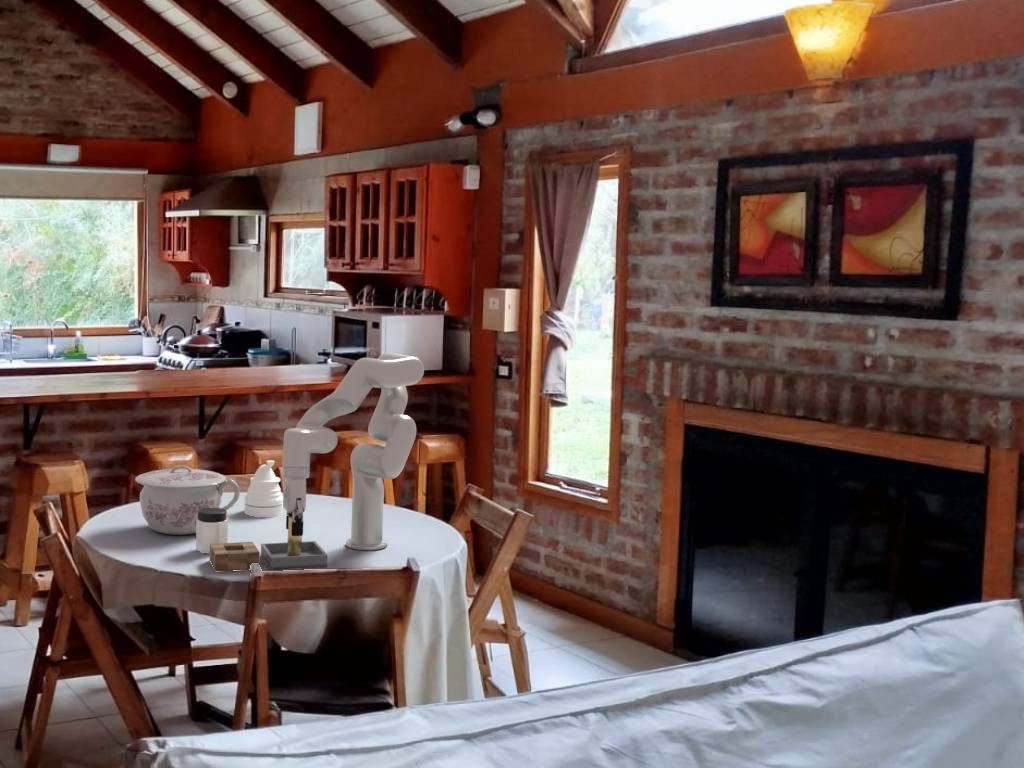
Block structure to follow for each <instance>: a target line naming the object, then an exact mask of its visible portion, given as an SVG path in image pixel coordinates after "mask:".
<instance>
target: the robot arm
mask: <svg viewBox="0 0 1024 768" xmlns="http://www.w3.org/2000/svg"><path fill="white" fill-rule="evenodd" d="M424 373H425V366H424V364H423V361H421V360H420V359H419V358H418V357H415V356H411V355H405V354H398V353H384V354H380V355H379V356H378V358H372V357H361V358H359V359H357V360H356V361H355V362H354V364H353V365H352V366H351V367H350V369H349V370H348V372H347V373H346V375H345V376H344V377H343V379H342V380H341V381H340V382H339V384H338V385H337V387H336V388H335V390H334V391H333V392H332V393H330V395H327V396H326V397H324V398H322V399H321V400H320V401H318V402H317V403H314V404H313V405H312V406H311V407H309V409H308V410H306V412H305V413H304V414H303V416H302V417H301V418H300V420H299V421H298V423H296V426H295V428H294V427H292V428H291V427H290V428H287V429H286V430H285V431H284V433H283V455H282V477H283V478H284V480H283V482H284V483H283V493H282V494H283V495H282V496H283V509H284V510H285V511H286V515H285V519H286V521H285V529H286V530H288V523H289V517H290V516H293V522H292V532H291V535H292V536H302V537H303V535H304V513H305V511H306V507H307V479H308V478H310V470H311V469H310V466H311V454H328V453H330V452H332V451H333V450H334V449H336V447H337V445H338V441H339V440H338V439H339V438H338V436H337V435H338V434H337V433H336V432H335V431H334V430H333V429H332V428H329V427H326V426H324V425H325V424H326V423H328V422H329V421H331V420H333V419H335V418H337V417H341V416H345V415H347V414H350V413H353V412H355V411H356V410H358V408H359V406H360V405H361V404H362V403H363V401H364V400H365V399H366V397H367V396H368V394H369V393H370V391H371V390H372V389H373V388H377V389H381V392H380V396H379V400H378V402H377V404H376V407H375V409H374V412H373V414H372V417H371V418H370V421H369V423H368V429H367V433H368V436H369V437H370V438H371V439H372V440H374V441H377V442H380V443H384V444H386V445H385V446H384V445H380V444H375V443H370V442H365V443H364V442H363V443H360V444H358V445H356V446H355V447H354V448H353V450H352V452H351V454H350V467H351V475H352V497H351V498H352V499H351V500H352V501H351V502H352V504H351V526H350V527H351V529H350V530H351V533H350V538H348V539H346V540H345V546H346V547H348V548H349V549H353V550H360V551H376V550H381V549H384V548H385V549H386V547H387V546H388V542H387V540H385V539H383V532H384V531H383V527H384V526H383V525H384V524H383V523H384V503H385V502H384V501H385V486H384V482H383V481H384V480H393V479H396V478H397V477H398V476H400V474H401V472H402V471H403V470H404V468H405V465H406V462H407V460H408V457H409V455H410V453H411V450H412V447H413V445H414V442H415V440H416V437H417V425H416V422H415V421H414V419H413V418H412V417H411V416H409V415H407V414H404V413H405V410H406V407H407V404H408V399H409V396H408V395H409V394H408V390H407V386H413V385H416V384H417V383H418V382H420V381H421V380H422V378H423V376H424ZM295 516H296V517H295Z"/></svg>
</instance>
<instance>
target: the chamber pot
mask: <svg viewBox="0 0 1024 768" xmlns="http://www.w3.org/2000/svg"><path fill="white" fill-rule="evenodd" d="M134 479H135V482H136V483H138V484H140V485H142V486H143V487H142V490H141V491H140V492H139V503H140V508H141V513H142V517H143V518H144V520H145V521H146V523H147V525H148V526H149V528H150V529H152V530H153V531H155V532H157V533H159V534H163V533H164V534H163V535H167V534H171V535H170V536H187V535H186V534H191V535H194V533H195V534H196V523H197V519H198V511H199V510H200V509H204V508H222V509H225V510H226V511H228V510H229V509H230V508H232V507H233V506H234V505H235V504H236V502H237V501H238V500H239V498H240V494H241V493H240V487H239V484H238V483H237V482H236V480H233V478H228V479H227V478H226V476H225V475H224V474H221V473H219V472H215V471H211V470H206V469H200V468H199V469H198V468H190V466H187V465H179V464H178V465H176V466H173V467H172V468H168V469H167V468H166V469H158V470H152V471H148V472H145V473H141V474H139V475H138V476H136V477H135V478H134ZM228 486H230V487H233V490H234V495H233V498H232V500H230V501H229V503H228V504H227V505H224V506H222V507H221V504H222V496H223V495H224V488H225V487H228Z"/></svg>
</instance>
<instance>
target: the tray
mask: <svg viewBox="0 0 1024 768" xmlns="http://www.w3.org/2000/svg"><path fill="white" fill-rule="evenodd" d="M287 543H288V541H287V542H269V543H260V556H261V558H262V559H263V561H264V562H265V563H266V565H267V567H268V568H269V570H270V571H276V570H277V571H280V570H281V571H282V569H283V570H297V569H296V568H301V569H314V568H315V569H316V568H328V558H329V557H328V554H327V553H326V551H324V549H323V547H321V545H320V544H319V543H318V542H317V541H315V540H311V541H307V540H306V541H302V545H301V556H287Z"/></svg>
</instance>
